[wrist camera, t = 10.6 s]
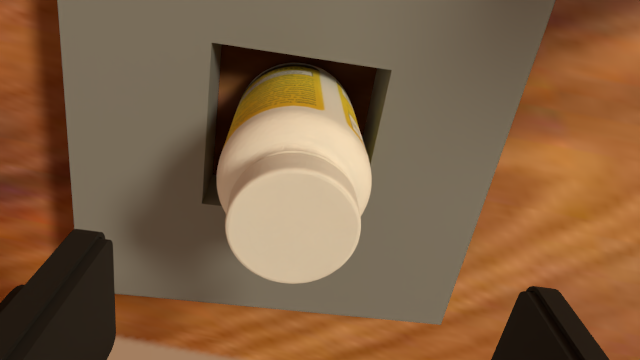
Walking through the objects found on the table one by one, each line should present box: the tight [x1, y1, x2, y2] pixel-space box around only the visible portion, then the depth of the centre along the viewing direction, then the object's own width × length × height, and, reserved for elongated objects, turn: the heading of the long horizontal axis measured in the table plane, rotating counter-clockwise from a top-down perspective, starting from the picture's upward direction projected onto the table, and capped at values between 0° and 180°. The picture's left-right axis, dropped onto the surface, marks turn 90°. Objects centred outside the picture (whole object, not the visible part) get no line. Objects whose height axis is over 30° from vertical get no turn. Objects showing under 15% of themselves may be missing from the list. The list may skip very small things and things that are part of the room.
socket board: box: [57, 0, 555, 325], centre depth 21 cm, size 18×18×3 cm
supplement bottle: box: [217, 63, 372, 284], centre depth 18 cm, size 5×5×10 cm
